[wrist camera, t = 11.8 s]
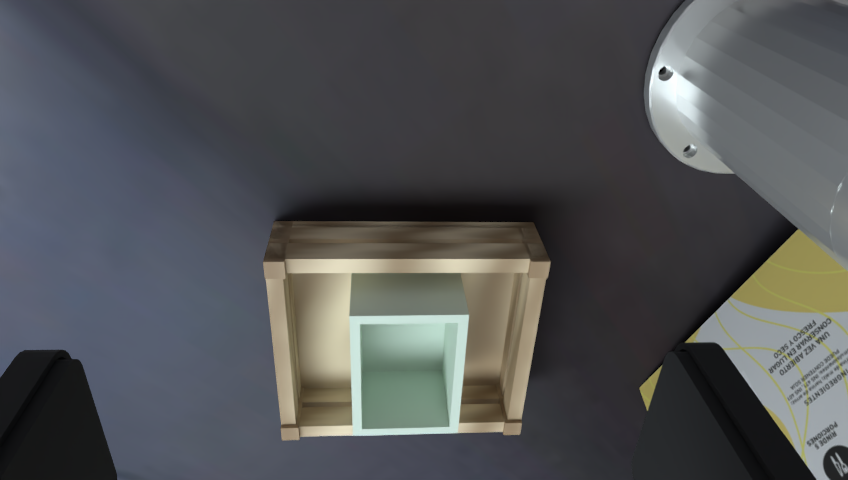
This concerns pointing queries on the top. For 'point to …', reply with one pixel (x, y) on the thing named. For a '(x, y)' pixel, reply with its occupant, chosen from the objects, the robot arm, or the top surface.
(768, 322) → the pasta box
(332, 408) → the crate big
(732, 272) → the top surface
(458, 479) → the top surface
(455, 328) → the box
